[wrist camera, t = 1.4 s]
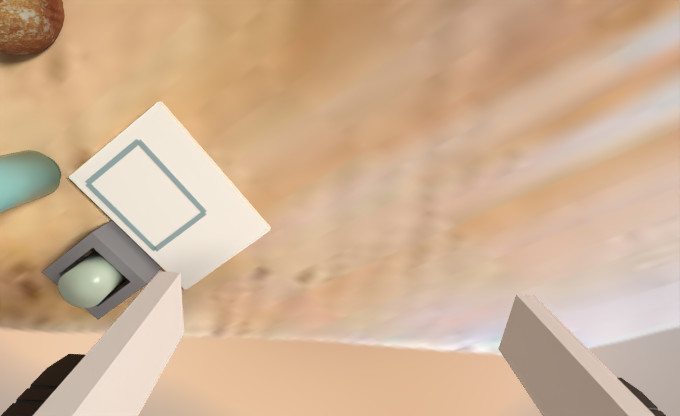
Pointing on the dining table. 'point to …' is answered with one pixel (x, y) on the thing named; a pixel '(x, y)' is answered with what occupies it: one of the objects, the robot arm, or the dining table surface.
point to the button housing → (117, 253)
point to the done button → (89, 281)
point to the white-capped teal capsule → (26, 178)
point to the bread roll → (29, 25)
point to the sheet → (170, 196)
